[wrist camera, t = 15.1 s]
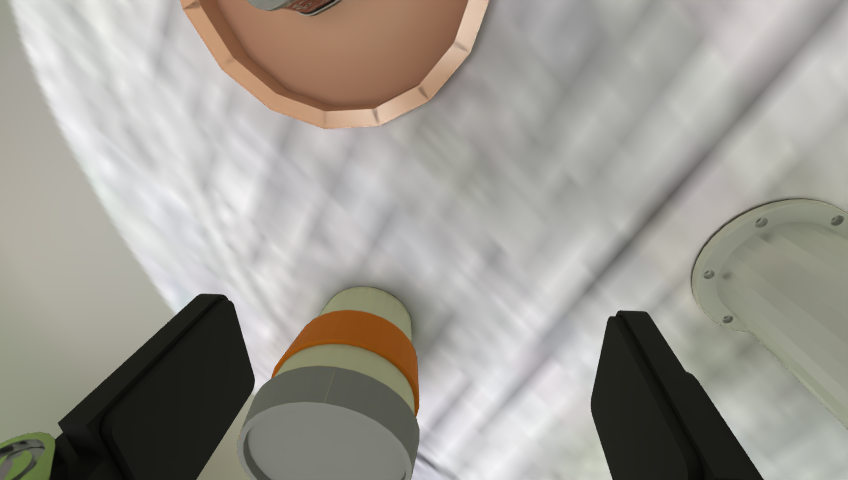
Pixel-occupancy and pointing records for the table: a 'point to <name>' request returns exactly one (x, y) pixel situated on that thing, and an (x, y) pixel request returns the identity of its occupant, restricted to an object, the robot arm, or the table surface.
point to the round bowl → (340, 54)
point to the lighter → (296, 5)
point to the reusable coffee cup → (339, 398)
